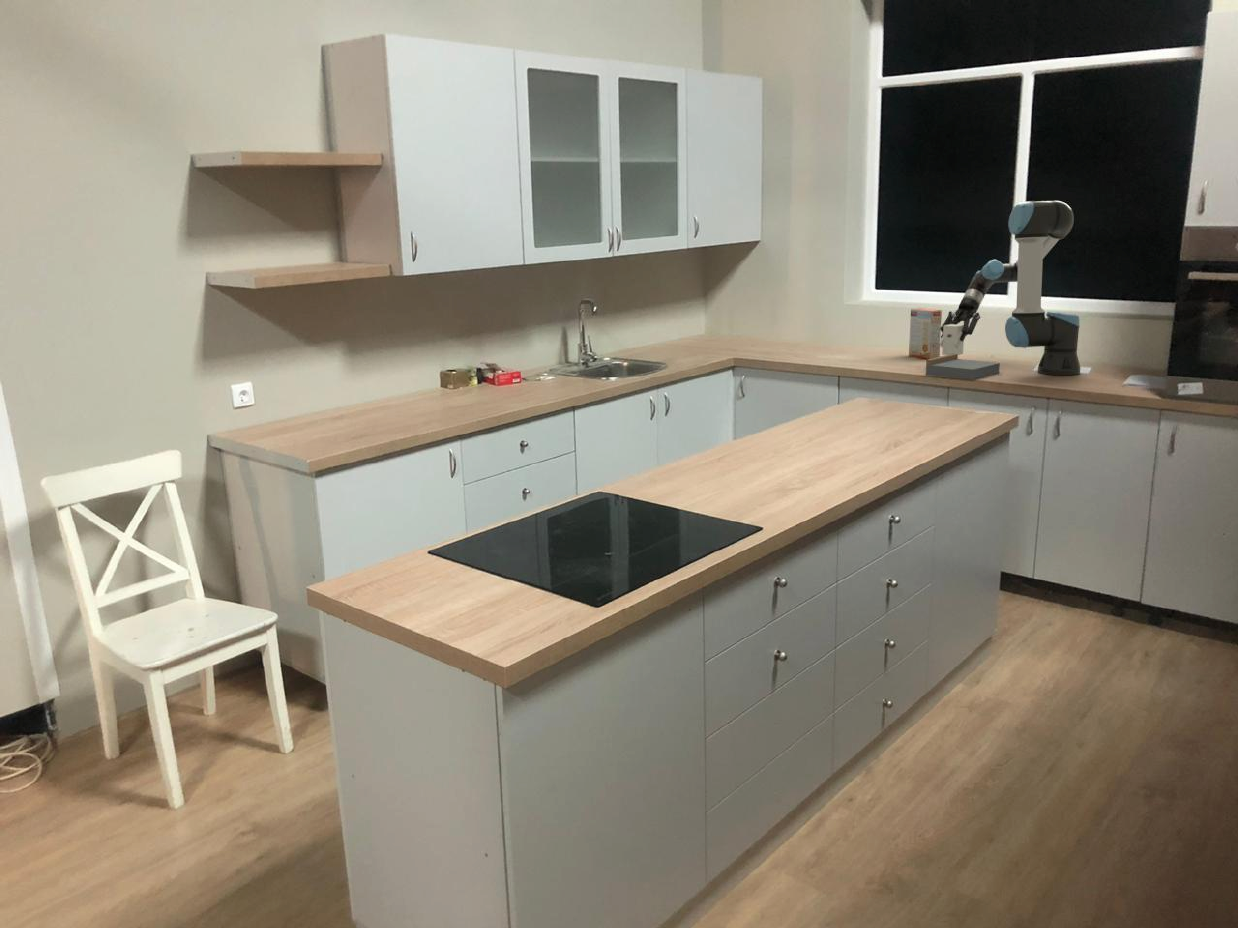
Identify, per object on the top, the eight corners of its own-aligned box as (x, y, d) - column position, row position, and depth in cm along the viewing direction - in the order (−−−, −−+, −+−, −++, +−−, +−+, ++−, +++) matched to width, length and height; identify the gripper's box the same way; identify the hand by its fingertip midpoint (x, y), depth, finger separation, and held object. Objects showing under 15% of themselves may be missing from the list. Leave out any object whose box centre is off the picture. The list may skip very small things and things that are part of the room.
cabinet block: (963, 354, 406) (964, 325, 404) (954, 356, 402) (955, 326, 399) (949, 353, 411) (951, 324, 408) (941, 354, 406) (942, 325, 403)
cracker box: (940, 358, 423) (942, 310, 418) (929, 359, 421) (931, 310, 416) (919, 354, 436) (921, 307, 431) (908, 355, 434) (910, 308, 429)
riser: (999, 373, 383) (1000, 357, 382) (973, 380, 370) (974, 364, 369) (952, 368, 398) (953, 353, 396) (925, 374, 385) (926, 359, 383)
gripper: (995, 309, 405) (972, 353, 399) (952, 307, 419) (930, 350, 413) (989, 297, 401) (966, 341, 394) (947, 296, 415) (924, 338, 408)
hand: (948, 345), depth 403 cm, fingers closed on cabinet block, 6 cm apart
